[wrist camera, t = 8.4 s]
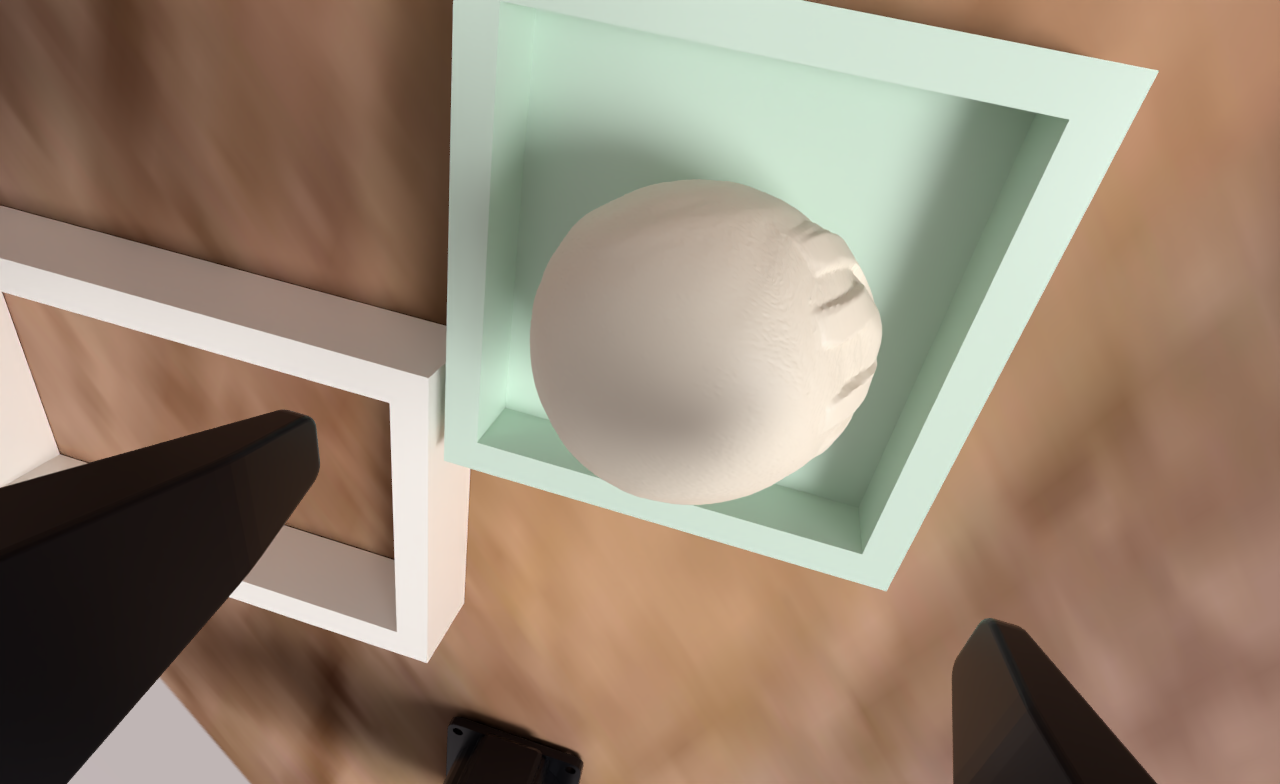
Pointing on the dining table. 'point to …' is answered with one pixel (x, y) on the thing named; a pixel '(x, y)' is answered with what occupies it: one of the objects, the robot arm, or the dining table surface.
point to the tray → (802, 177)
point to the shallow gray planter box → (283, 341)
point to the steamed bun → (701, 341)
